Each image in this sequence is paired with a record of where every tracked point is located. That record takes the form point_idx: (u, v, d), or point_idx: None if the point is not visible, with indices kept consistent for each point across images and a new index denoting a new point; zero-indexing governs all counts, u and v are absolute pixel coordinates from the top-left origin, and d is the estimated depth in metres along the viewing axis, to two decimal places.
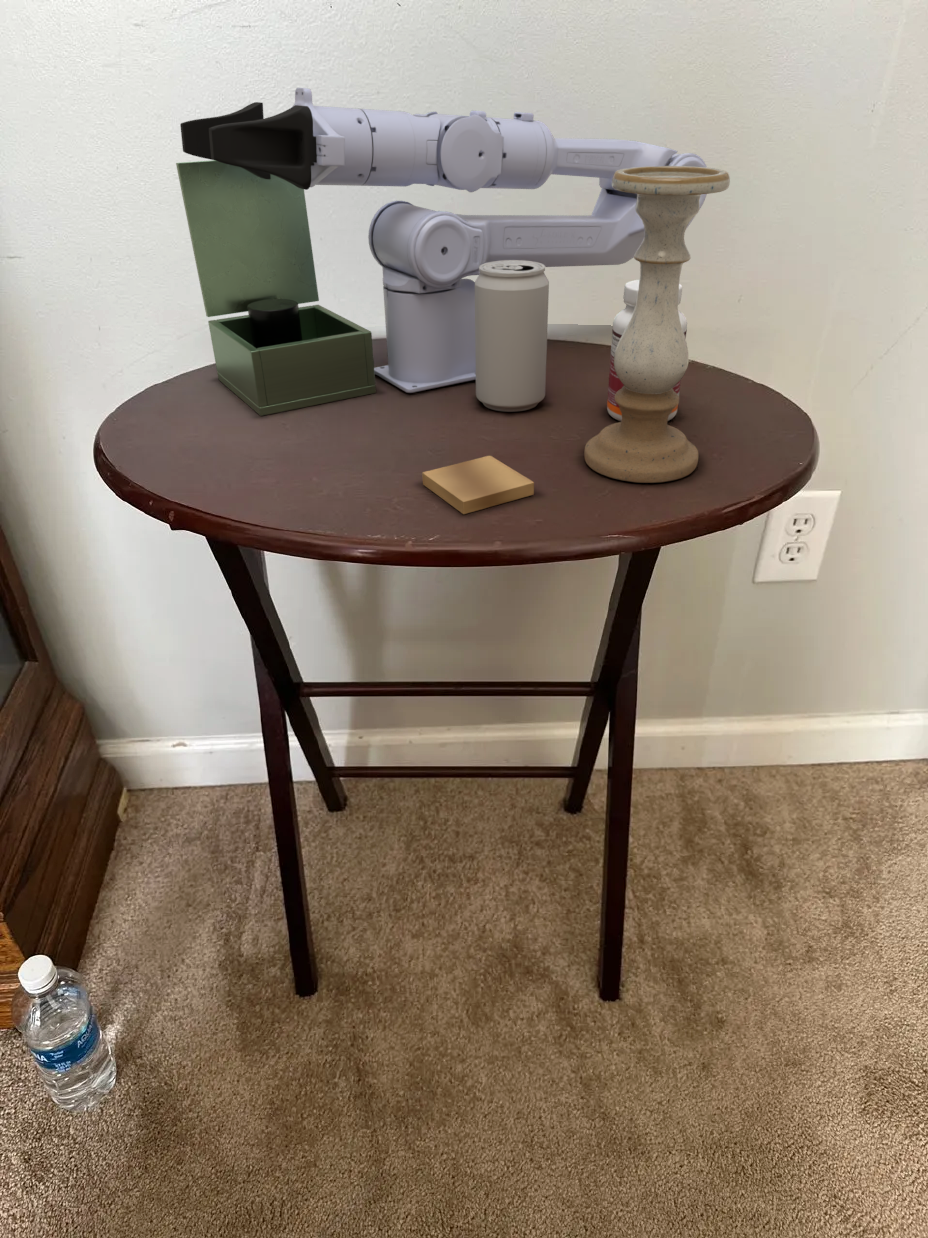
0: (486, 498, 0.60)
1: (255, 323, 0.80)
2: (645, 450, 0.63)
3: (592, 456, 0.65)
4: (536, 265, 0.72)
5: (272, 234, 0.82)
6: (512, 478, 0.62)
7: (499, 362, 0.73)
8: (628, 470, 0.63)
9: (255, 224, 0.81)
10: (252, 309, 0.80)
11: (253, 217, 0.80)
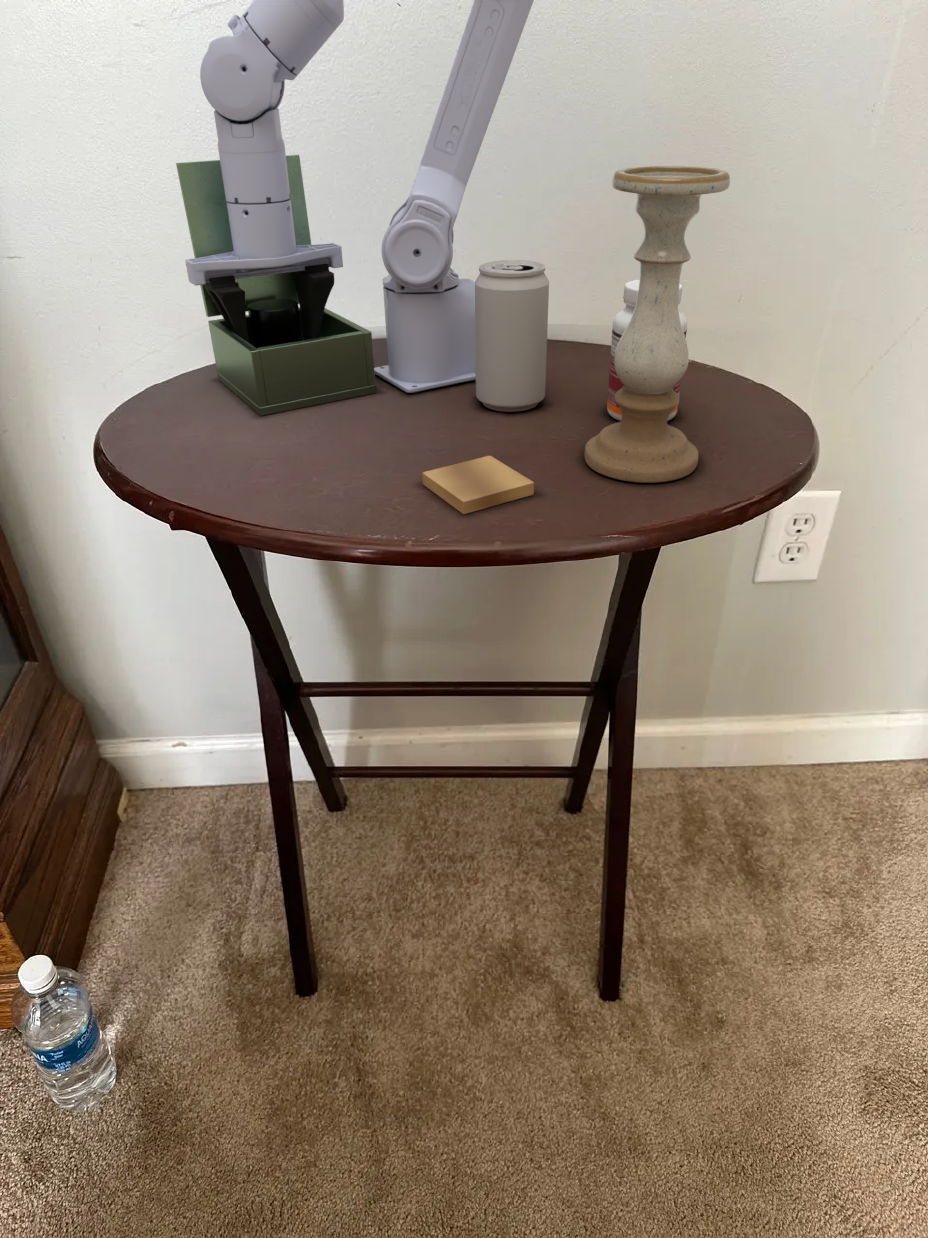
0: (486, 498, 0.60)
1: (255, 323, 0.80)
2: (645, 449, 0.63)
3: (592, 456, 0.65)
4: (536, 265, 0.72)
5: None
6: (512, 478, 0.62)
7: (499, 362, 0.73)
8: (628, 470, 0.63)
9: None
10: (252, 309, 0.80)
11: None
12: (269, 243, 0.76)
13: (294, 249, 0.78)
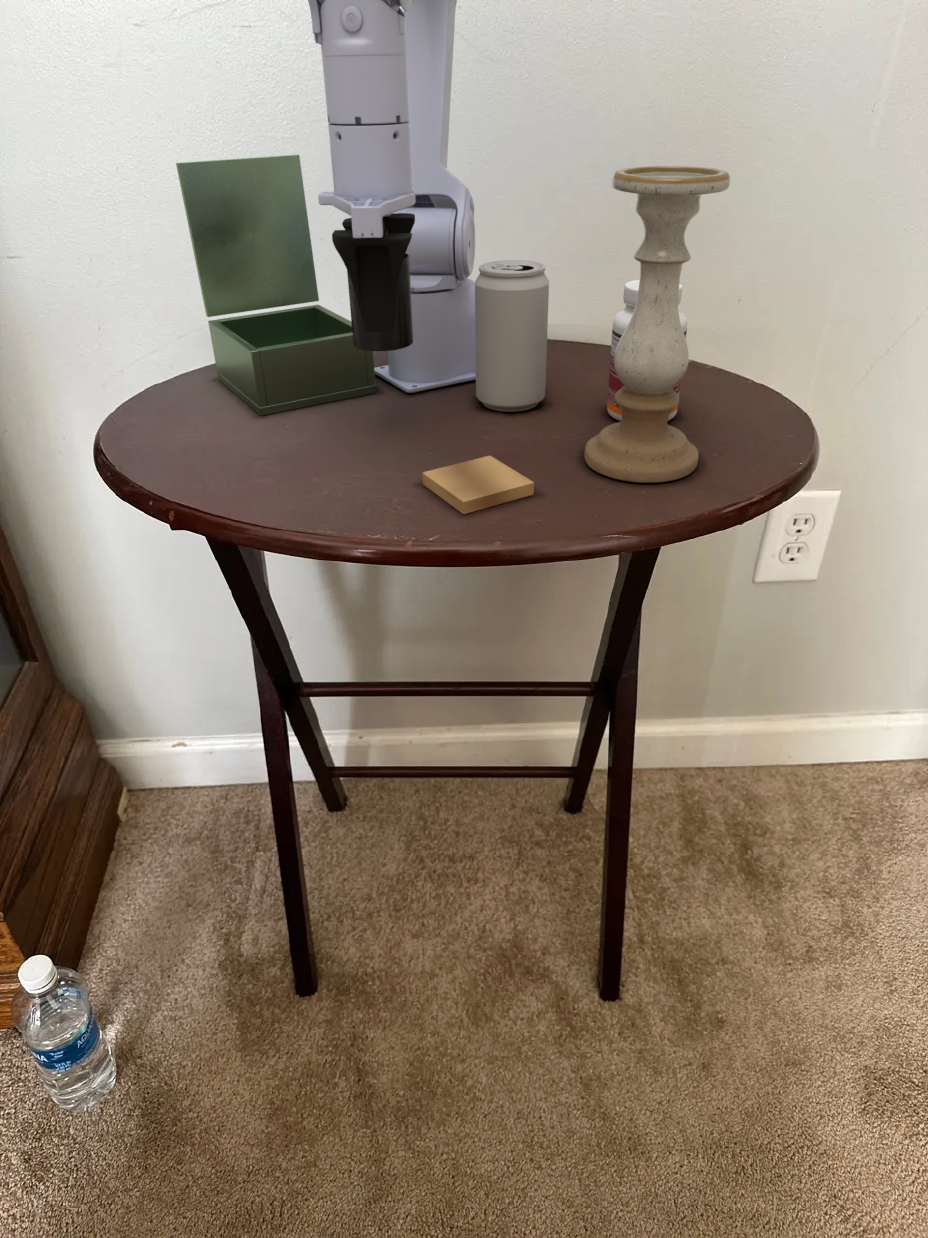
0: (486, 498, 0.60)
1: None
2: (645, 450, 0.63)
3: (592, 456, 0.65)
4: (536, 265, 0.72)
5: (272, 234, 0.82)
6: (512, 478, 0.62)
7: (499, 362, 0.73)
8: (628, 470, 0.63)
9: (255, 224, 0.81)
10: None
11: (253, 217, 0.80)
12: (410, 173, 0.61)
13: None
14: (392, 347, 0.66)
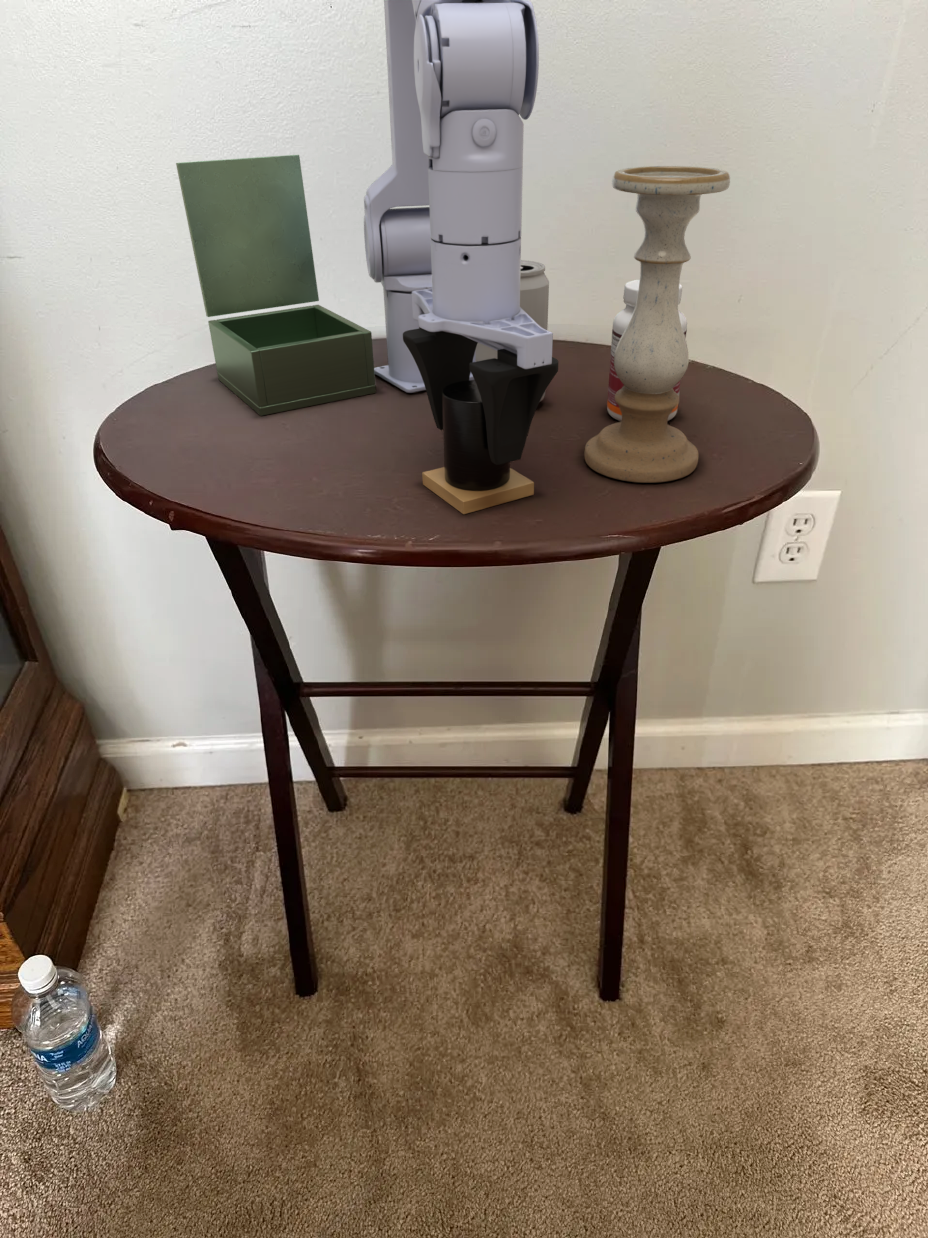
0: (486, 498, 0.60)
1: None
2: (645, 449, 0.63)
3: (592, 456, 0.65)
4: (536, 265, 0.72)
5: (272, 234, 0.82)
6: (512, 478, 0.62)
7: None
8: (628, 470, 0.63)
9: (255, 224, 0.81)
10: None
11: (253, 217, 0.80)
12: None
13: None
14: (504, 482, 0.61)
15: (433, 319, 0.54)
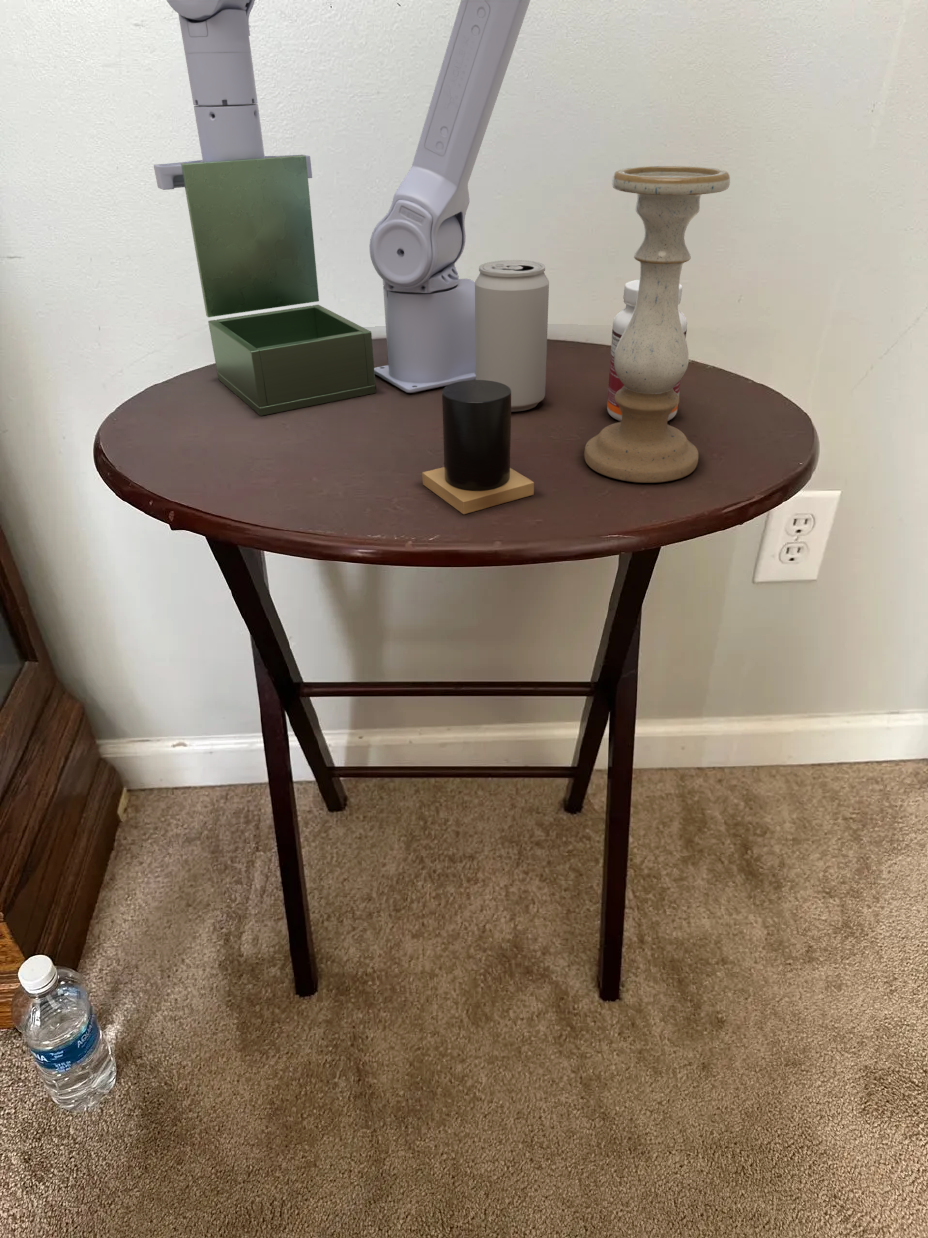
0: (486, 498, 0.60)
1: (505, 415, 0.58)
2: (645, 449, 0.63)
3: (592, 456, 0.65)
4: (536, 265, 0.72)
5: (275, 236, 0.81)
6: (512, 478, 0.62)
7: (499, 362, 0.73)
8: (628, 470, 0.63)
9: (259, 226, 0.80)
10: (502, 398, 0.57)
11: (257, 219, 0.80)
12: (236, 147, 0.76)
13: (262, 156, 0.79)
14: (504, 482, 0.61)
15: None
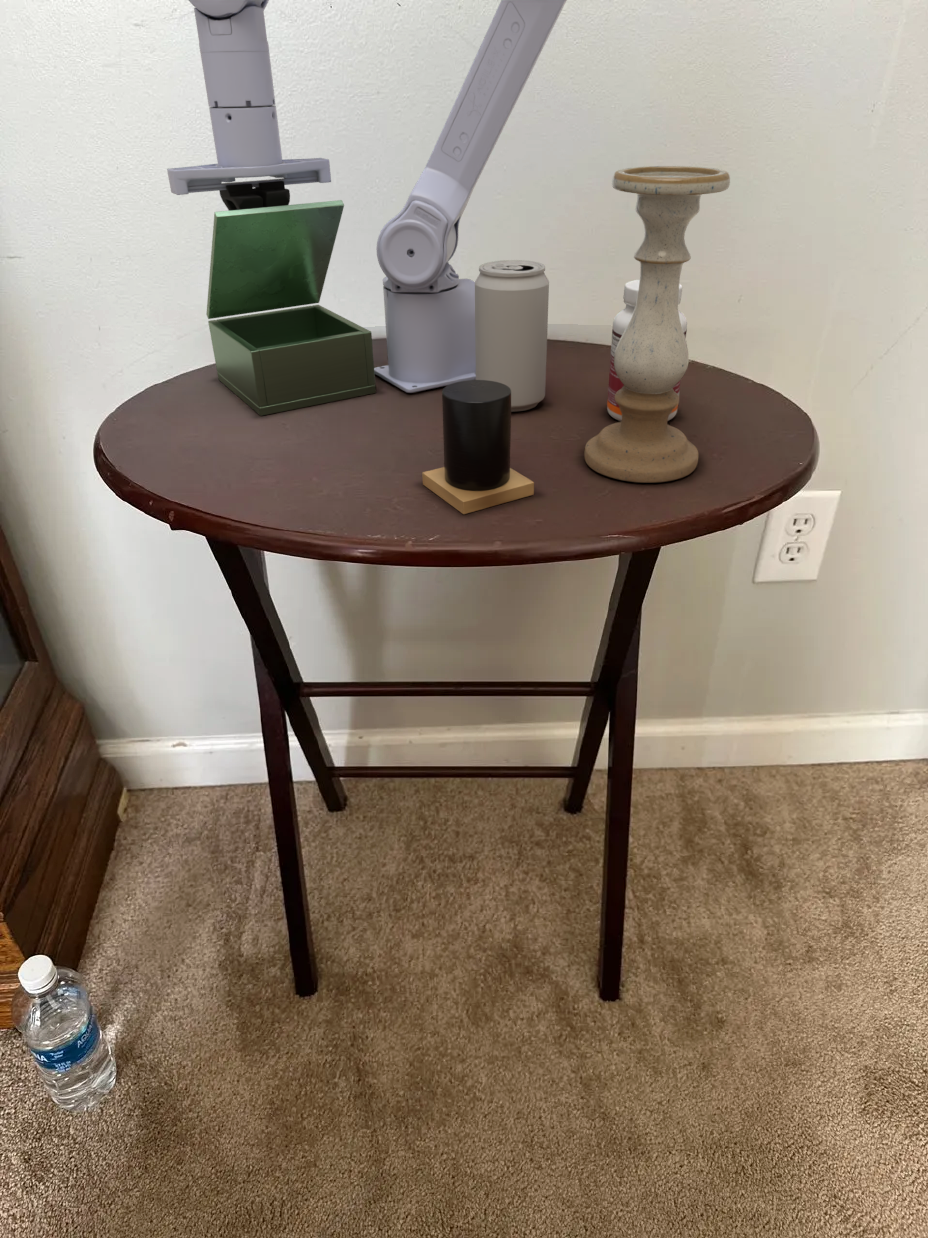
0: (486, 498, 0.60)
1: (505, 415, 0.58)
2: (645, 449, 0.63)
3: (592, 456, 0.65)
4: (536, 265, 0.72)
5: (293, 262, 0.79)
6: (512, 478, 0.62)
7: (499, 362, 0.73)
8: (628, 470, 0.63)
9: (279, 256, 0.78)
10: (502, 398, 0.57)
11: (279, 251, 0.77)
12: (253, 150, 0.73)
13: (280, 159, 0.75)
14: (504, 482, 0.61)
15: None
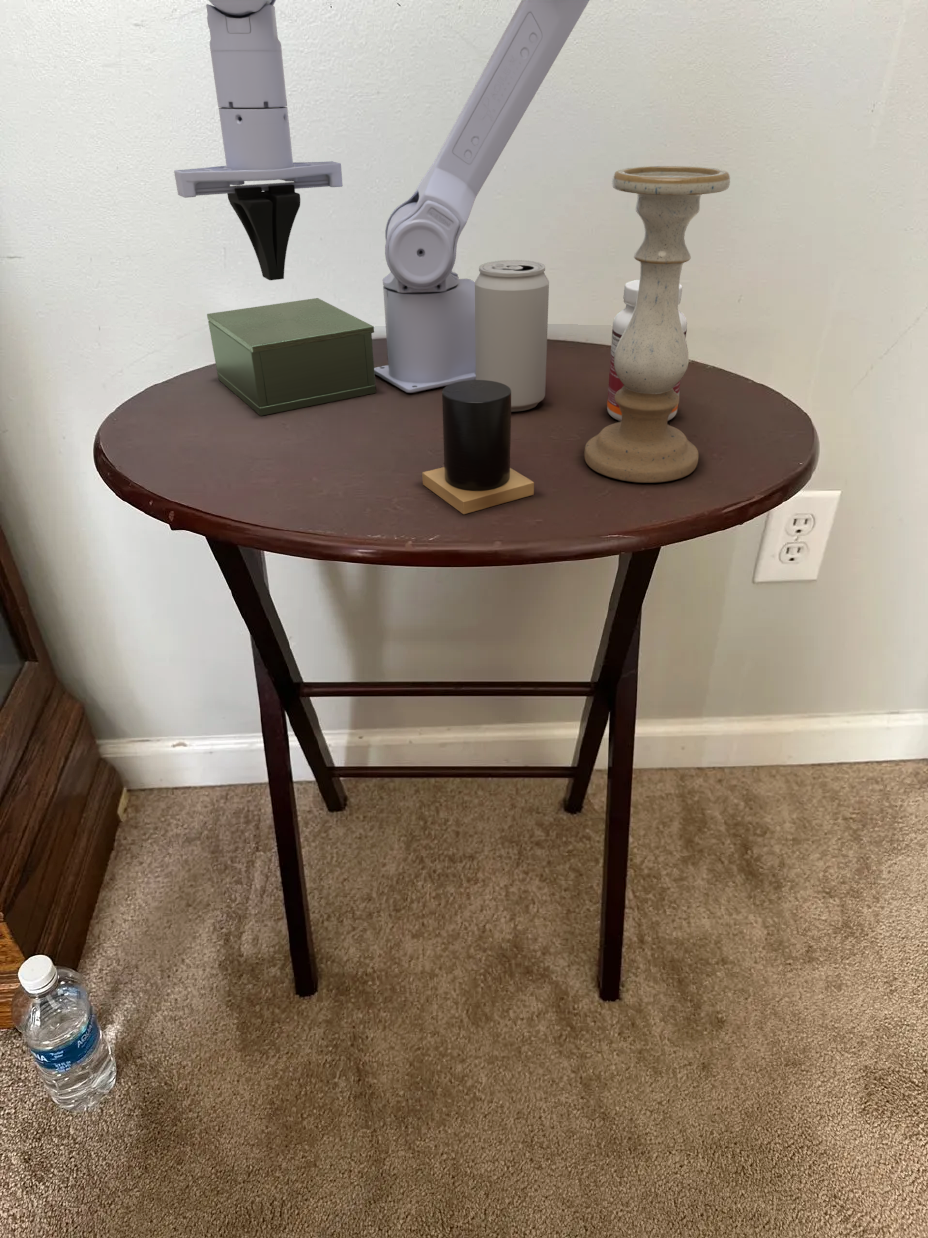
0: (486, 498, 0.60)
1: (505, 415, 0.58)
2: (645, 449, 0.63)
3: (592, 456, 0.65)
4: (536, 265, 0.72)
5: None
6: (512, 478, 0.62)
7: (499, 362, 0.73)
8: (628, 470, 0.63)
9: None
10: (502, 398, 0.57)
11: None
12: (264, 153, 0.71)
13: (291, 162, 0.73)
14: (504, 482, 0.61)
15: None
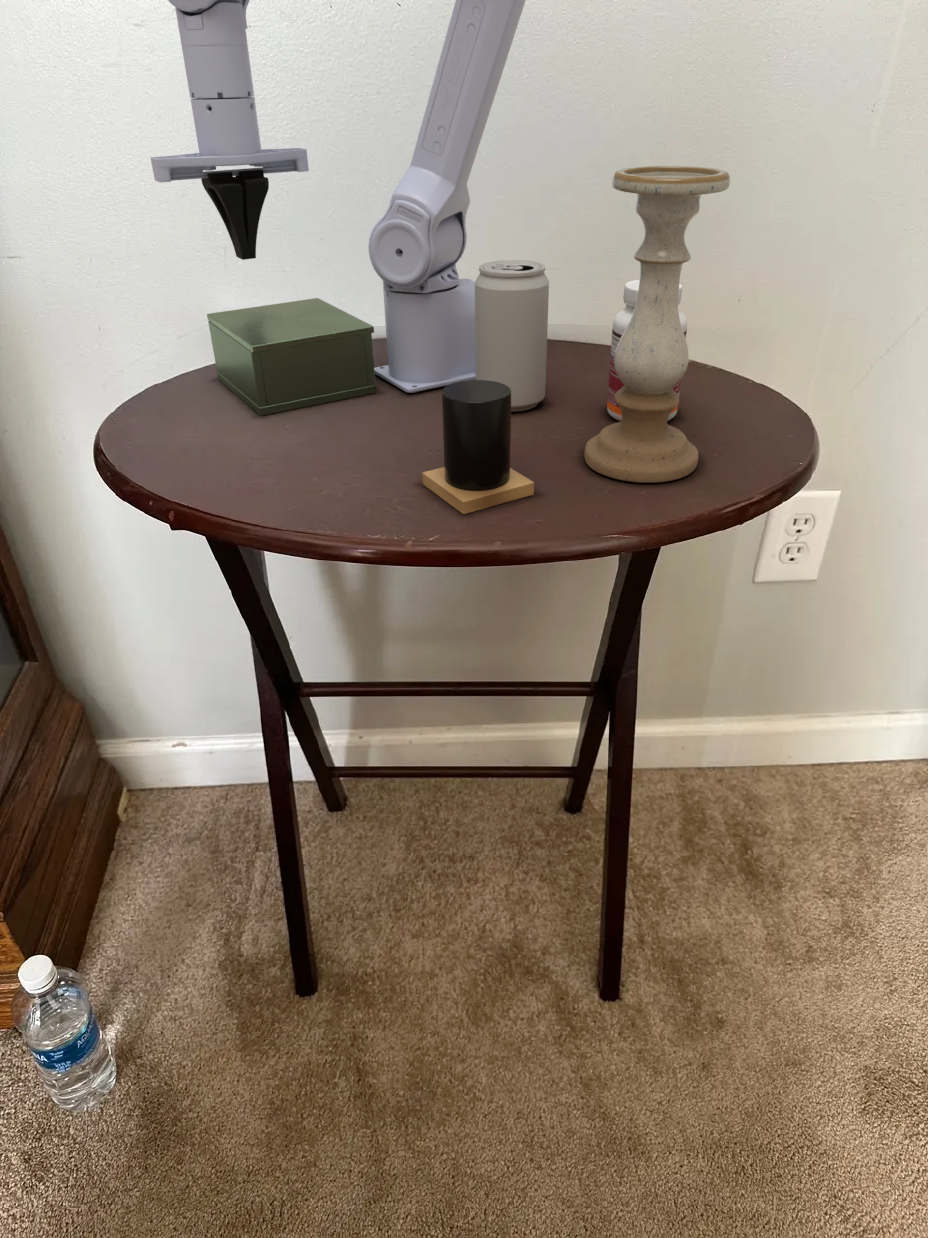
0: (486, 498, 0.60)
1: (505, 415, 0.58)
2: (645, 449, 0.63)
3: (592, 456, 0.65)
4: (536, 265, 0.72)
5: None
6: (512, 478, 0.62)
7: (499, 362, 0.73)
8: (628, 470, 0.63)
9: None
10: (502, 398, 0.57)
11: None
12: (233, 140, 0.77)
13: (259, 149, 0.79)
14: (504, 482, 0.61)
15: None
